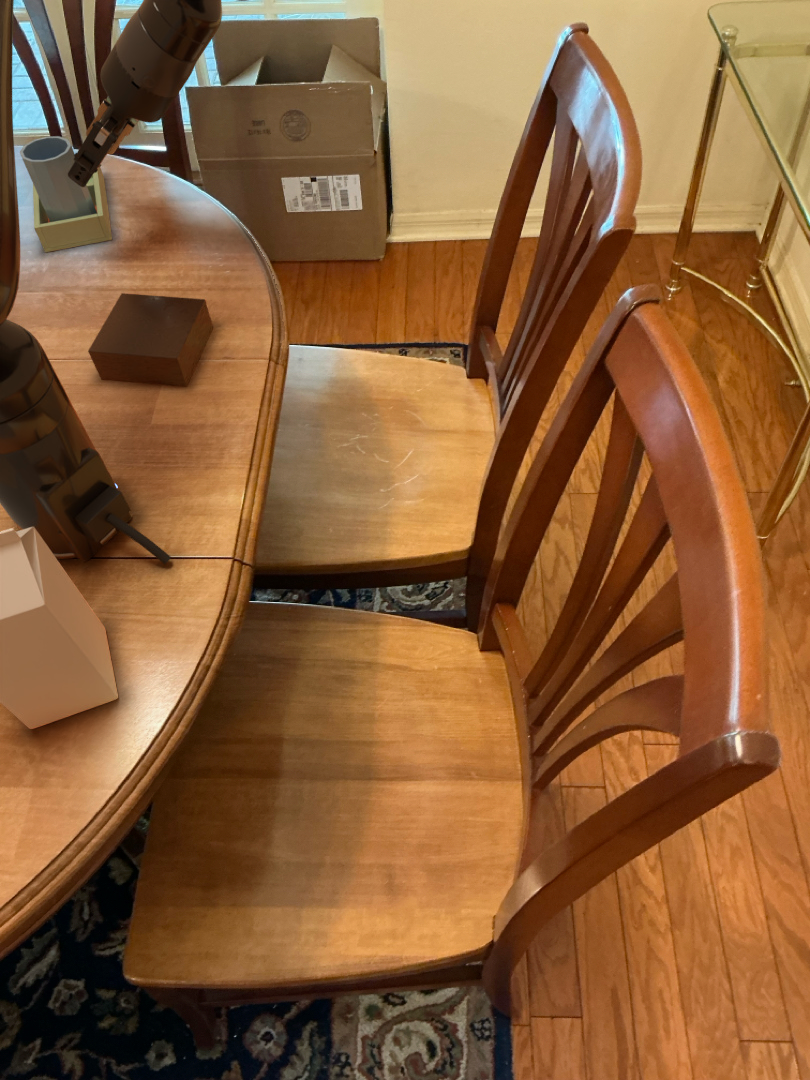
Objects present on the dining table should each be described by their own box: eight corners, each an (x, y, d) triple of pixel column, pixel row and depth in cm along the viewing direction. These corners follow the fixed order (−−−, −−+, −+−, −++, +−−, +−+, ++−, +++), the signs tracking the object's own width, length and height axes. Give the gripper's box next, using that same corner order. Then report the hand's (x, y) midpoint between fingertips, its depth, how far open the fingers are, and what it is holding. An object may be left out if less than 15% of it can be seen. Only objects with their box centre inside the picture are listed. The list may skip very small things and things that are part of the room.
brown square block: (213, 327, 90) (205, 299, 87) (186, 386, 84) (177, 358, 81) (132, 321, 91) (121, 292, 88) (100, 379, 85) (87, 351, 82)
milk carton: (119, 699, 63) (18, 571, 47) (30, 731, 61) (-104, 609, 46) (106, 628, 67) (8, 489, 51) (22, 657, 65) (-105, 522, 50)
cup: (108, 218, 103) (80, 143, 95) (74, 241, 100) (43, 166, 92) (77, 206, 105) (47, 131, 97) (43, 228, 102) (9, 153, 94)
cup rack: (103, 176, 110) (95, 152, 107) (112, 239, 101) (103, 215, 98) (42, 187, 109) (32, 163, 106) (45, 252, 100) (34, 228, 97)
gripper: (142, 9, 86) (83, 111, 97) (94, 66, 78) (36, 170, 89) (199, 62, 90) (136, 154, 101) (159, 122, 82) (95, 215, 92)
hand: (89, 162), depth 95 cm, fingers open, 8 cm apart
